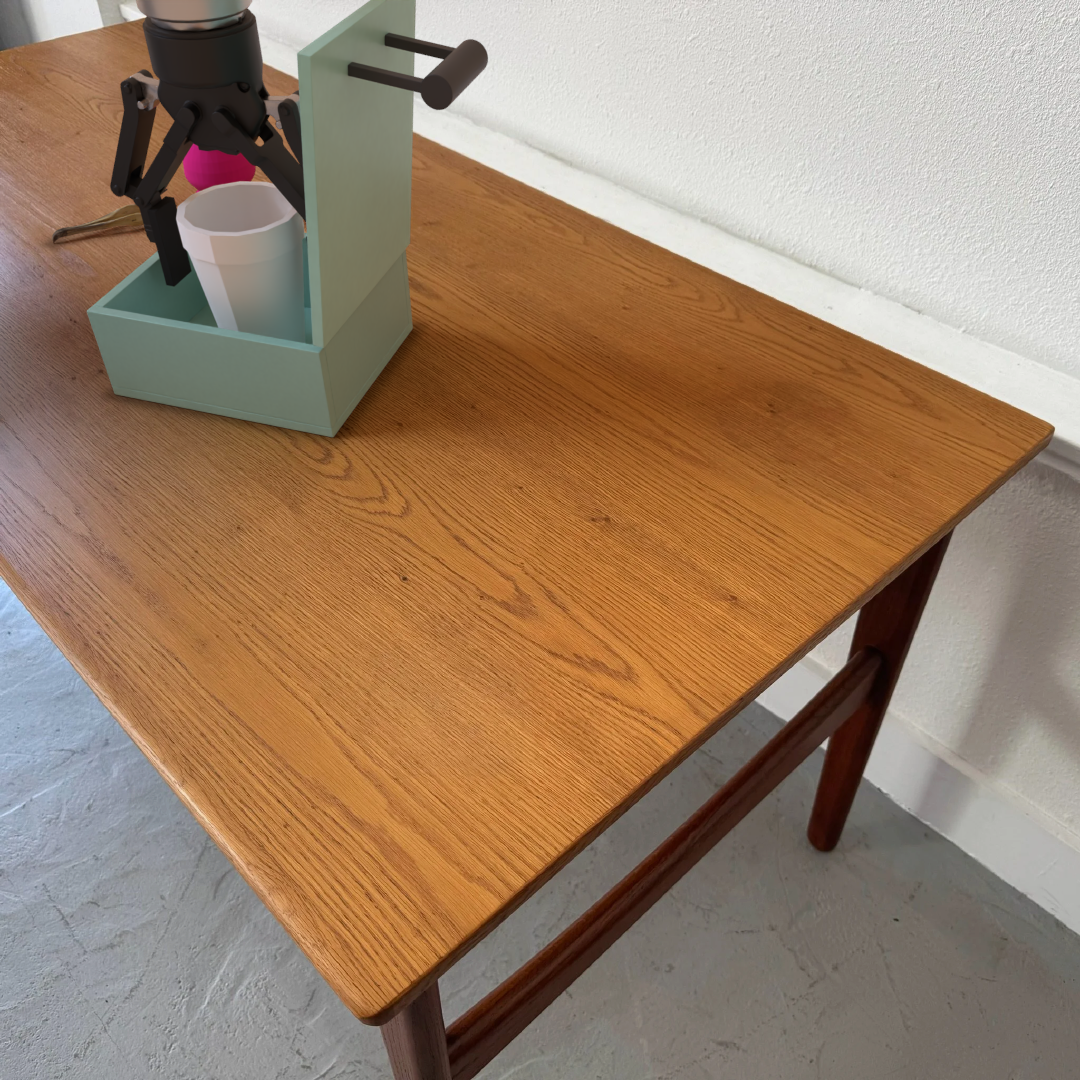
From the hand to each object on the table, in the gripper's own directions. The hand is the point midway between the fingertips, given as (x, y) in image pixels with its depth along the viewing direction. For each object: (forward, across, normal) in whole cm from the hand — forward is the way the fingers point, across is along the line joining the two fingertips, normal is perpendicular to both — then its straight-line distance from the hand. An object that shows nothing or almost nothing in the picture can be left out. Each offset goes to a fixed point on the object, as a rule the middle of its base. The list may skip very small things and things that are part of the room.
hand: (252, 291), depth 84 cm
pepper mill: (+7, +18, -25) cm, 31 cm away
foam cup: (+6, 0, 0) cm, 6 cm away
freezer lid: (-12, -11, 0) cm, 16 cm away
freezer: (+7, 0, 0) cm, 7 cm away
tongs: (+7, +26, -17) cm, 32 cm away
